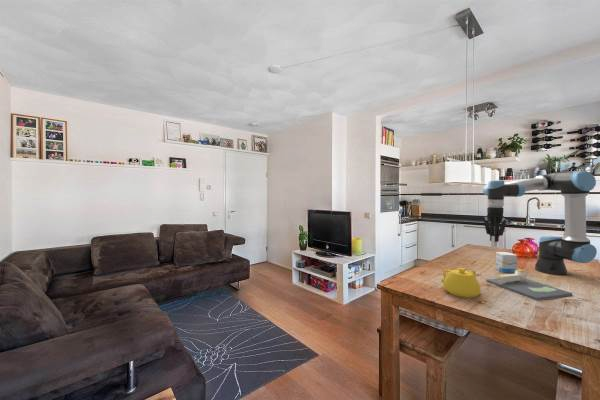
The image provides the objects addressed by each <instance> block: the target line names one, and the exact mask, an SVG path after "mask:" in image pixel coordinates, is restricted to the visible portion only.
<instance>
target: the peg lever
mask: <svg viewBox="0 0 600 400" xmlns="http://www.w3.org/2000/svg"><path fill="white" fill-rule="evenodd" d="M495 279H497V280H498V281H501V282H509V281H520V282H526V279H527V271H526V270H523V269H518V268H517V270H515V273H506V274H498V275H497V277H496V278H495Z"/></svg>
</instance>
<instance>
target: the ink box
mask: <svg viewBox="0 0 600 400" xmlns="http://www.w3.org/2000/svg"><path fill="white" fill-rule="evenodd" d="M494 264H495V266H494V269H495V270H497V271H499V272H502V273H507V274H515V270H517V269H518V255H517V254H515V253H512V252H510V251H509V252H507V251H496V252H495V263H494Z"/></svg>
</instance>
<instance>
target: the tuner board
mask: <svg viewBox="0 0 600 400" xmlns="http://www.w3.org/2000/svg"><path fill="white" fill-rule="evenodd" d="M485 281H486V283H489V284H492V285H495V286H497V287H500V288H502V289H505V290H508V291H511V292H513V293H516V294H519V295H522V296H524V297H526V296H527V297H526V298H528V299H529V298H530V299H531V300H535V301H540V300H541V301H542V300H547V299H548V300H549V299H555V298H556V299H557V298H564V297H571V296H573V292H570V291H567V290H563V289H561V288H557V287H554V286H551V285H548V284H545V283H542V282H538V281H534V280H532V279H528V278H526V282H520V281H509V282H501V281H498V280H497V279H496V278H489V279H486V280H485Z"/></svg>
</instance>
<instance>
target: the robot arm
mask: <svg viewBox="0 0 600 400" xmlns="http://www.w3.org/2000/svg"><path fill="white" fill-rule="evenodd" d="M596 185H597V180H596V177H595V176H594V175H593V174H592V173H591V172H590V171H587V170H572V171H571V170H570V171H557V172H556V171H555V172H552V173H551V172H550V173H546V174H543V175H542V174H541V175H537V176H535V177H532V178H528V179H520V180H512V181H507V182H506V181H505V180H501V179H499V180H498V179H496V180H495V179H494V180H489V181H488V184H486V185H484V186H483V188H482V192H483V194H484V195H485V196H487V208H486V209H487V211H486V212H487V214H486V216H484V217H482V218H481V219H482V220H483V223H484V228H485V232H486V235H489V241H490V242H491V245H490V247H491V248H498V243H499V239H500V236H503V235H504V232H505V229H506V226H507V224H508V222H509V219H506V218H505V216H504V207H505V206H504V205H505V200H504V199H505V198H507V197H509V198H513V197H514V198H517V197H518V198H519V197H522V196H524V195H525V194H526V192H531V191H540V192H541V191H560V195H561V196H562V197H564V236H554V235H553V236H552V235H550V236H549V235H548V236H544V235H543V236H541V237H539V242H538V258H537V261H536V263H535V265H534V270H535V271H538V272H540V273H541V272H542V273H546V274H550V275H557V276H566V275H568V269H567V267H566V264H565V260H567V261H570V262H571V261H572V262H575V263H579V264H588V263H590V262H592V261H593V260H595V258H596V256H597V248H596V246H595V245H593V244H591V240H590V239H589V238H588V237H587V209H586V207H587V206H586V205H587V203H586V202H587V201H586V198H587V196H588V195H590V193H591V191H592V190H594V189H595V187H596Z"/></svg>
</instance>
